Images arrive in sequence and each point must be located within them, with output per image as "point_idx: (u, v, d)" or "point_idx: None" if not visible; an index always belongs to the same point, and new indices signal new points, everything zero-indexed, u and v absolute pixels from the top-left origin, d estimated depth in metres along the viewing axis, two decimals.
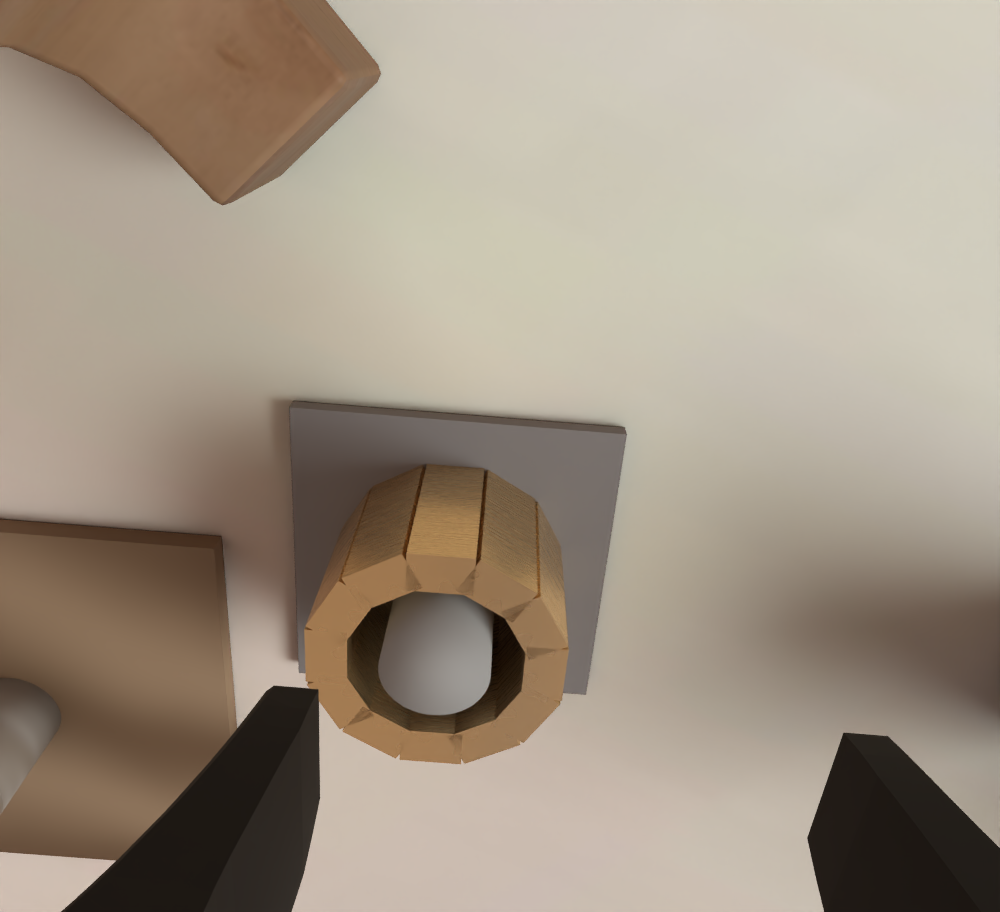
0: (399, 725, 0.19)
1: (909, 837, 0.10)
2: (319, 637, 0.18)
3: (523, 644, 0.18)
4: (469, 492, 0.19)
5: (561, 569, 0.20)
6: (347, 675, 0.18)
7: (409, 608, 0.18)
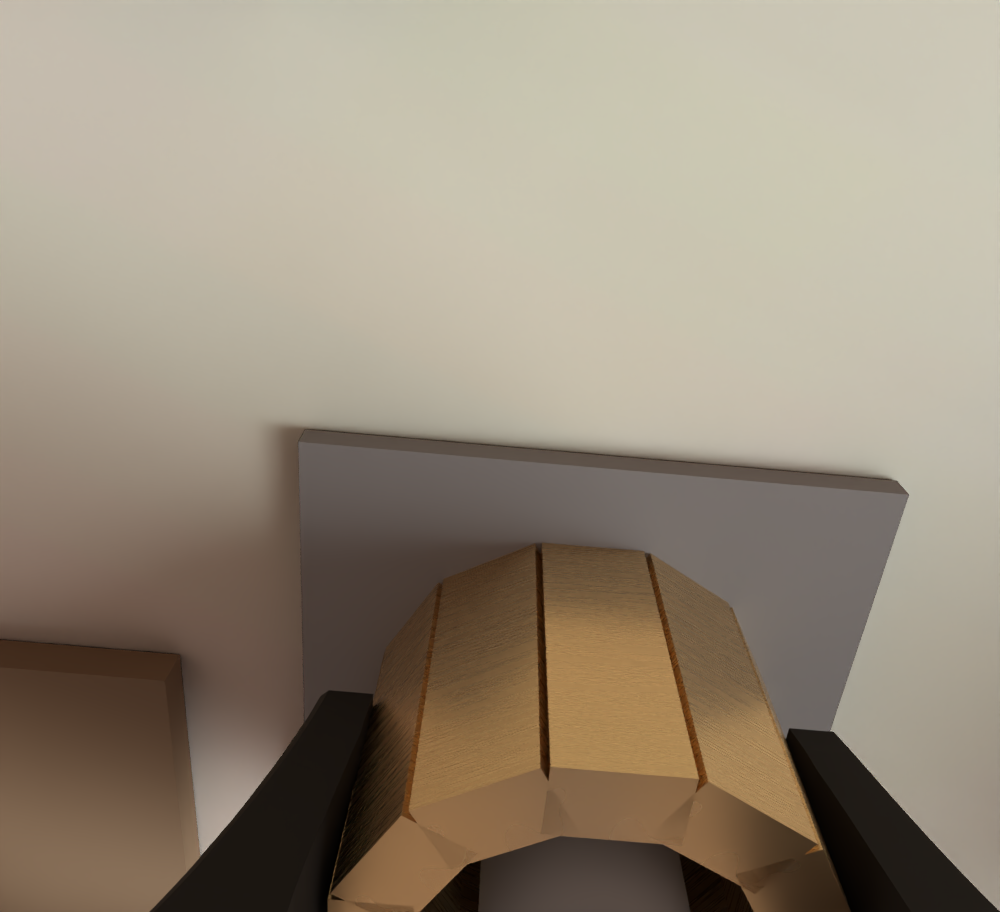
0: None
1: (844, 832, 0.10)
2: None
3: None
4: (633, 604, 0.10)
5: None
6: None
7: (533, 846, 0.09)
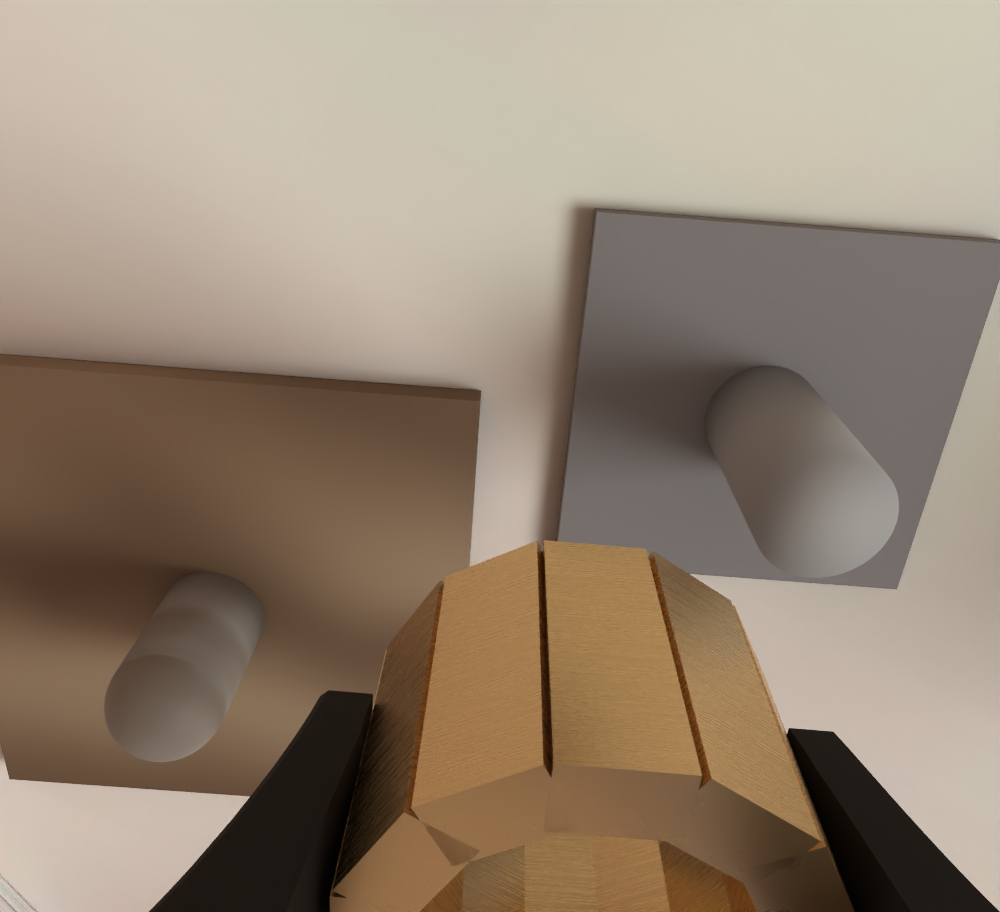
0: None
1: (845, 832, 0.10)
2: (360, 909, 0.09)
3: None
4: (636, 601, 0.10)
5: None
6: None
7: (785, 440, 0.14)
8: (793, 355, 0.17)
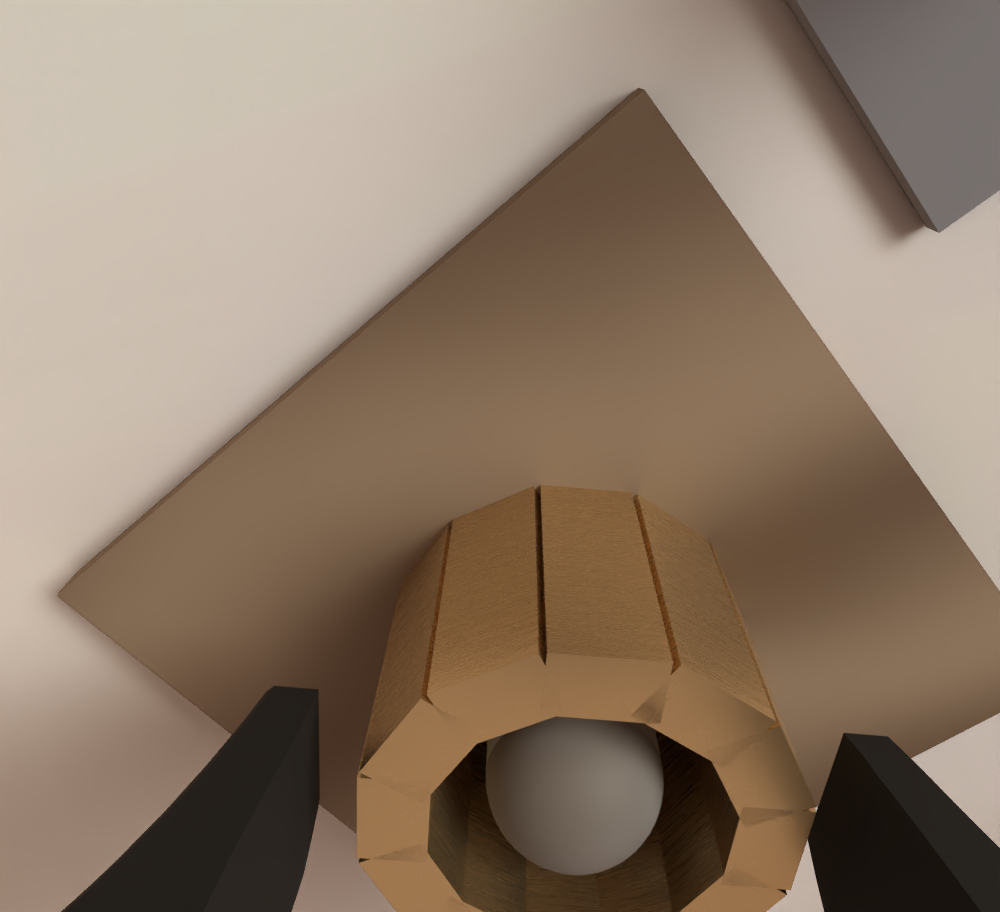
0: None
1: (909, 837, 0.10)
2: (383, 790, 0.10)
3: (739, 803, 0.10)
4: (621, 533, 0.12)
5: None
6: (427, 848, 0.11)
7: None
8: None
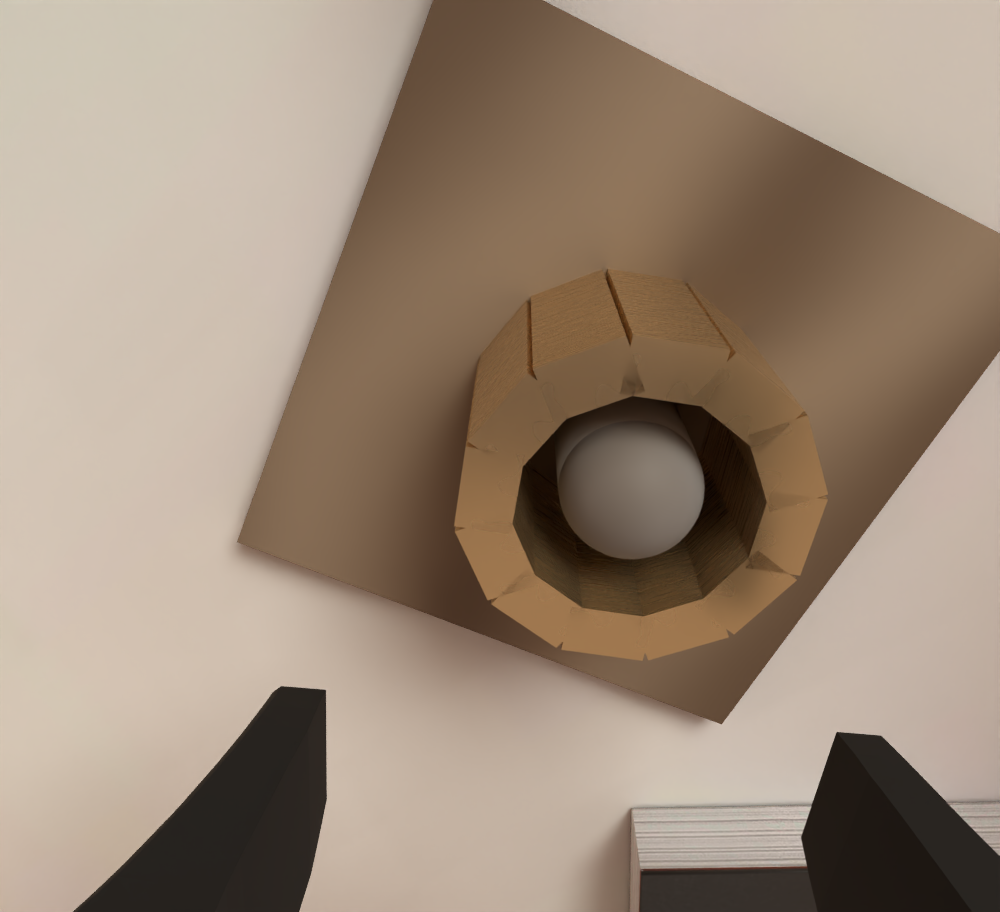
0: (628, 614, 0.14)
1: (900, 836, 0.10)
2: (477, 534, 0.13)
3: (741, 432, 0.12)
4: (592, 292, 0.14)
5: (753, 346, 0.15)
6: (534, 572, 0.14)
7: None
8: None
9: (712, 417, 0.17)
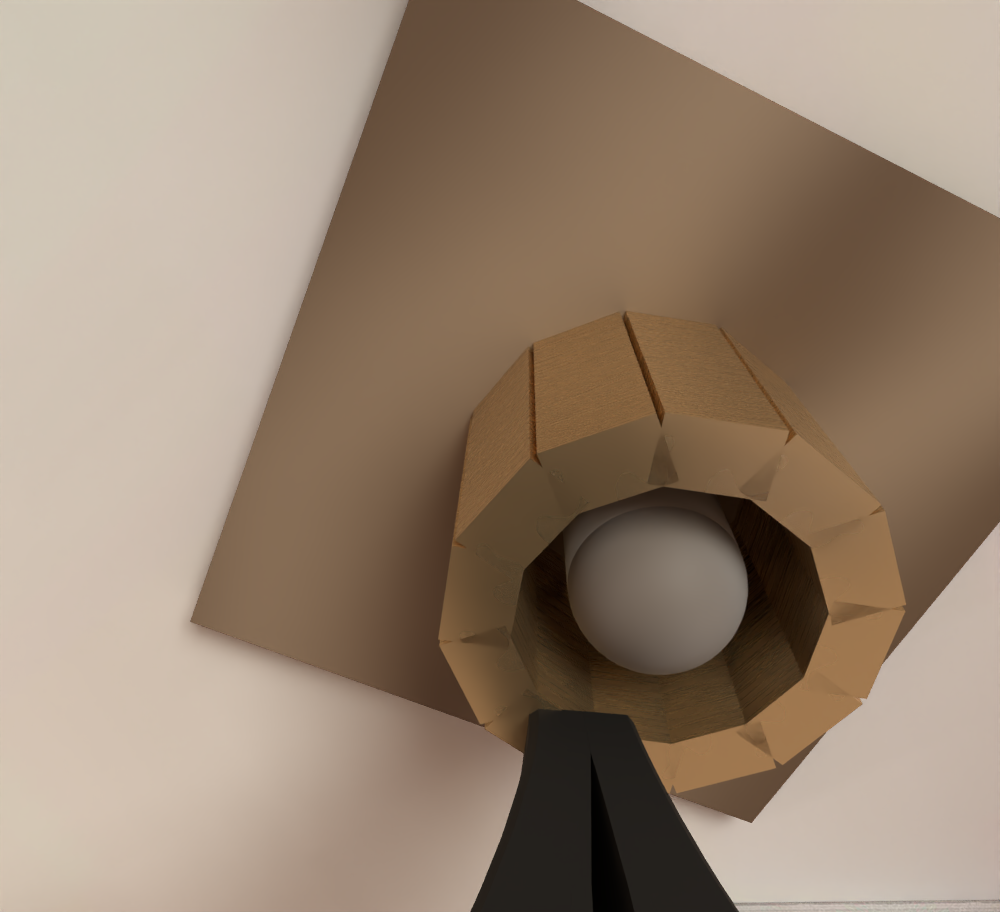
0: (652, 741, 0.11)
1: (601, 812, 0.09)
2: (467, 649, 0.11)
3: (800, 531, 0.10)
4: (608, 344, 0.12)
5: (804, 407, 0.12)
6: (538, 692, 0.11)
7: None
8: None
9: None
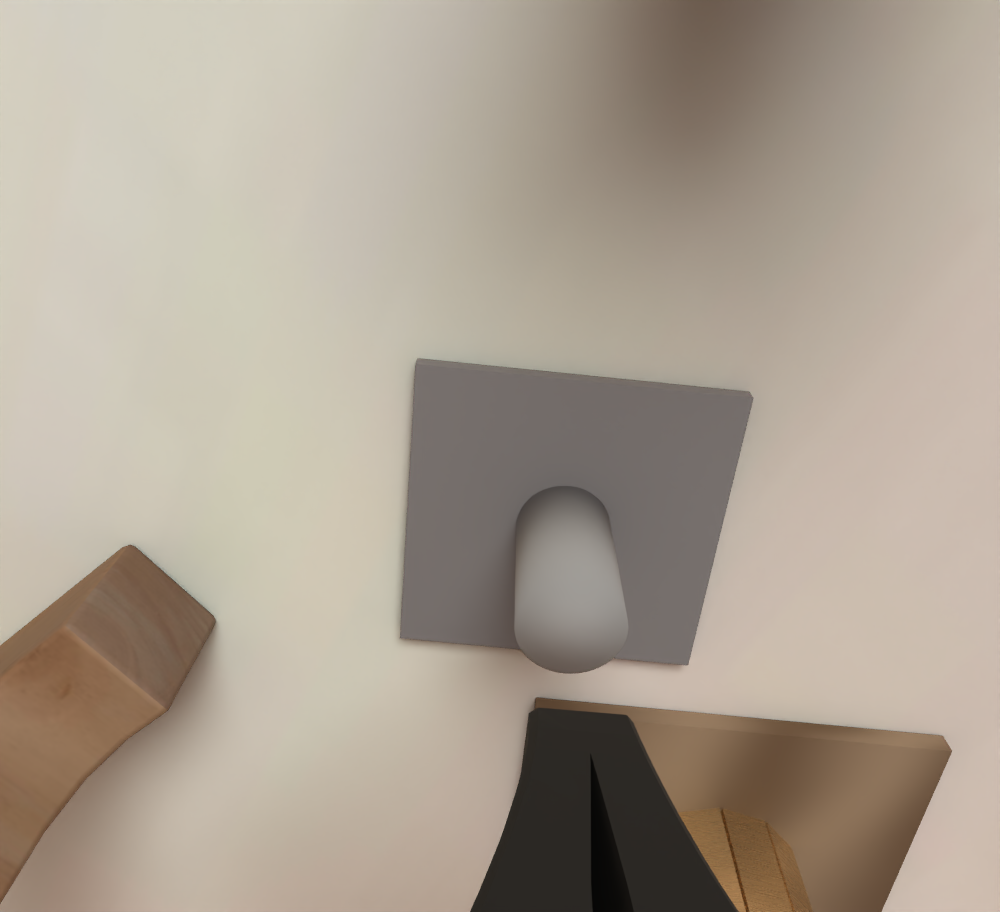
0: None
1: (600, 812, 0.09)
2: None
3: None
4: None
5: (772, 854, 0.25)
6: None
7: None
8: (507, 509, 0.21)
9: None
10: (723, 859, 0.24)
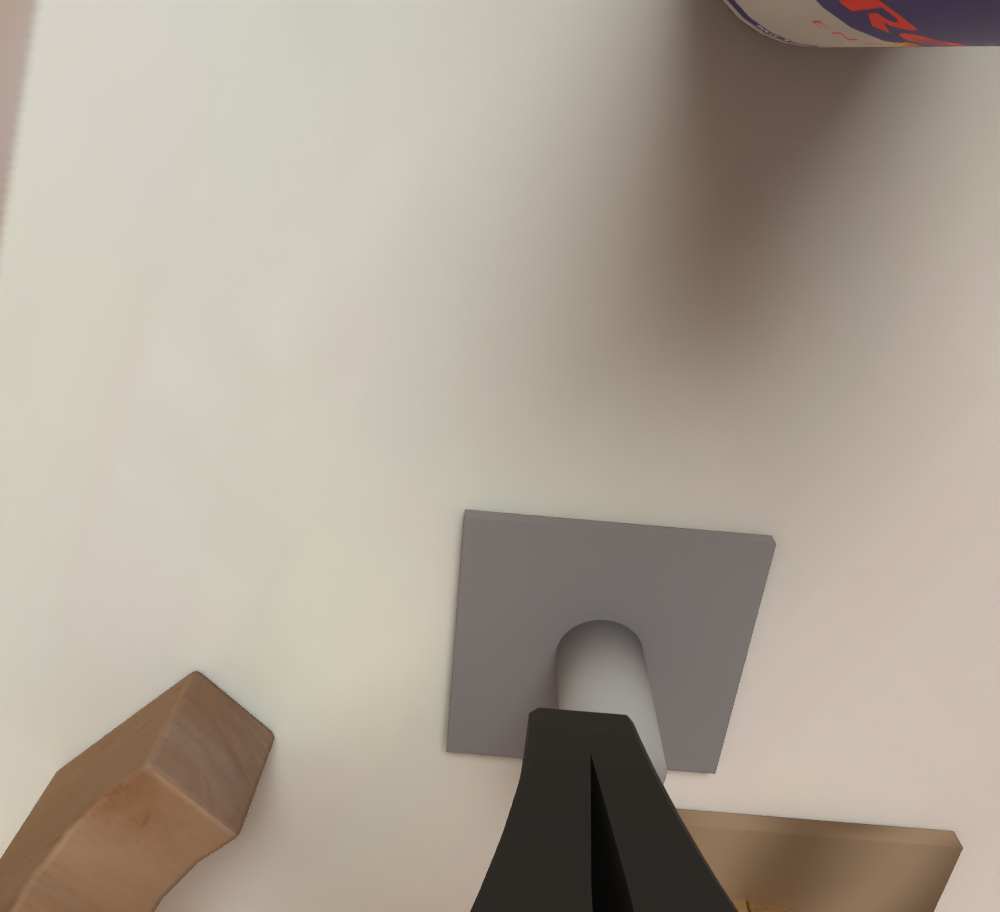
0: None
1: (600, 812, 0.09)
2: None
3: None
4: None
5: None
6: None
7: None
8: (547, 641, 0.23)
9: None
10: None
